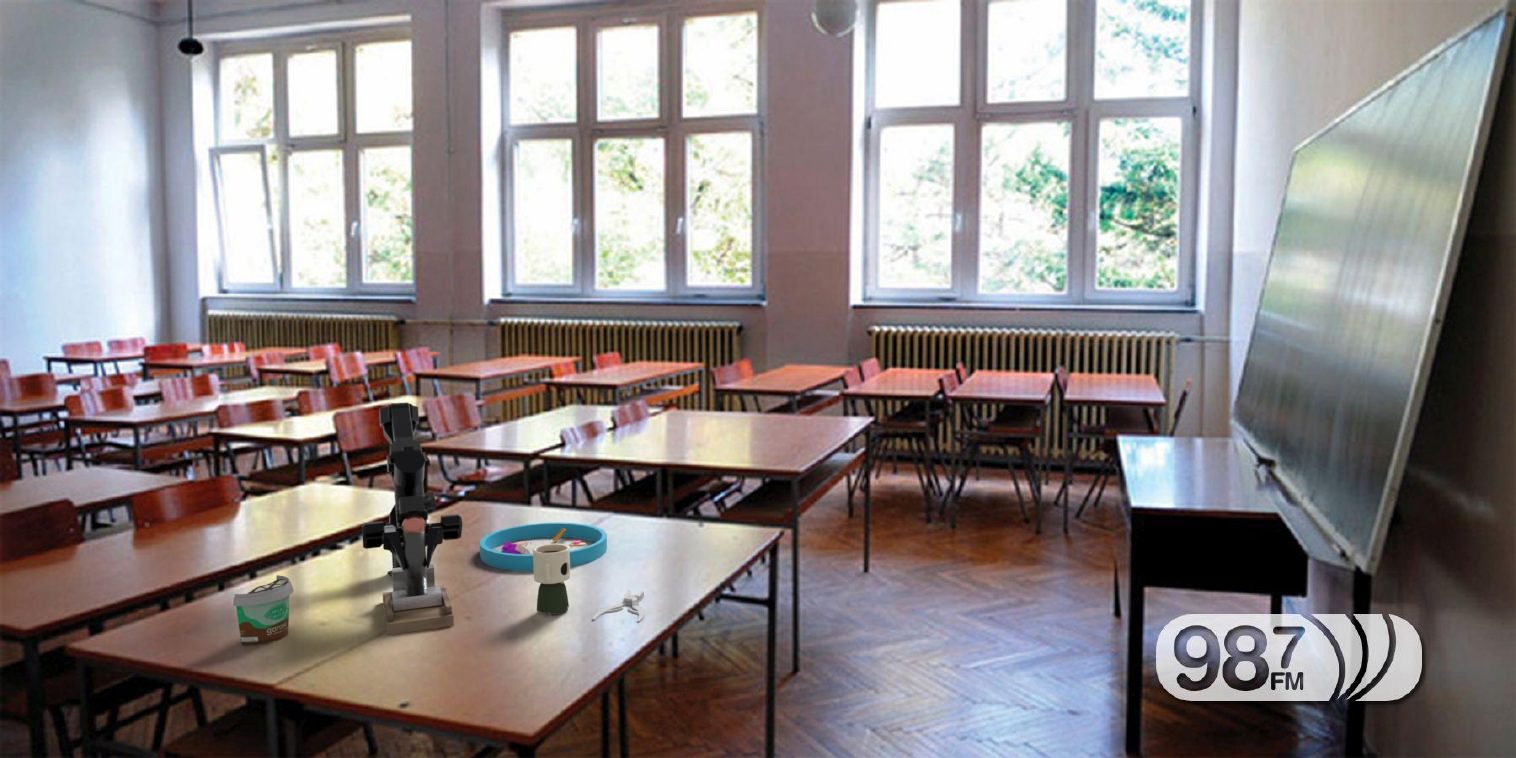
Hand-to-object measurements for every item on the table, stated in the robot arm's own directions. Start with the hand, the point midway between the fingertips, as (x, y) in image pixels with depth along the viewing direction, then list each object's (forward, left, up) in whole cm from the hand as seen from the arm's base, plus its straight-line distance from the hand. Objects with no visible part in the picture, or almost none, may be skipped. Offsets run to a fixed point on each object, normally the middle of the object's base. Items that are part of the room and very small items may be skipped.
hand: (416, 568), depth 192 cm
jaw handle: (-1, +1, -8) cm, 8 cm away
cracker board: (-2, +2, -10) cm, 11 cm away
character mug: (+21, +15, -10) cm, 28 cm away
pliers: (+33, +23, -11) cm, 42 cm away
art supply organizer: (-8, +48, -11) cm, 49 cm away
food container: (-17, -19, -10) cm, 28 cm away
